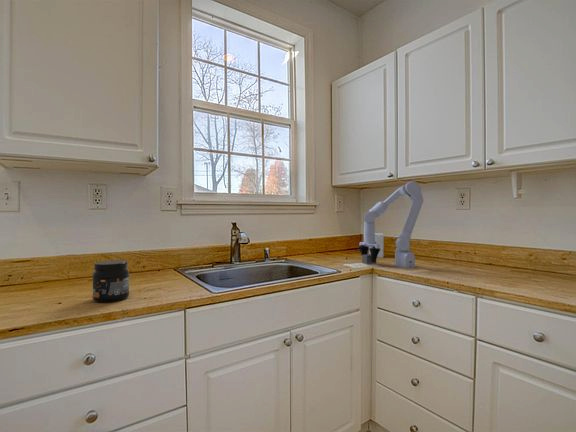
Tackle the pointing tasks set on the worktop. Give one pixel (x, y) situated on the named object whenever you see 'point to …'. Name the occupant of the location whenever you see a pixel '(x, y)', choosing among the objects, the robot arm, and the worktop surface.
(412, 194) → the robot arm
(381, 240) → the supplement box
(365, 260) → the block
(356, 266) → the board
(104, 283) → the supplement container
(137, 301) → the worktop surface
